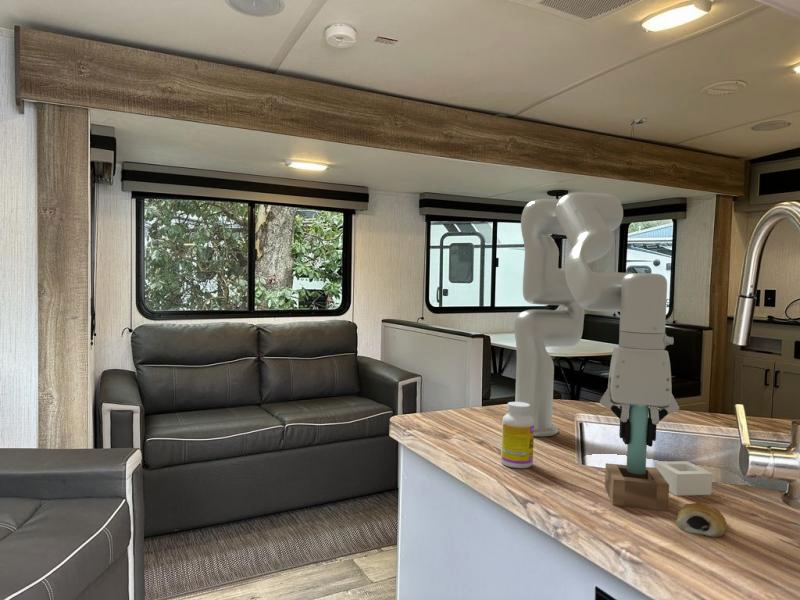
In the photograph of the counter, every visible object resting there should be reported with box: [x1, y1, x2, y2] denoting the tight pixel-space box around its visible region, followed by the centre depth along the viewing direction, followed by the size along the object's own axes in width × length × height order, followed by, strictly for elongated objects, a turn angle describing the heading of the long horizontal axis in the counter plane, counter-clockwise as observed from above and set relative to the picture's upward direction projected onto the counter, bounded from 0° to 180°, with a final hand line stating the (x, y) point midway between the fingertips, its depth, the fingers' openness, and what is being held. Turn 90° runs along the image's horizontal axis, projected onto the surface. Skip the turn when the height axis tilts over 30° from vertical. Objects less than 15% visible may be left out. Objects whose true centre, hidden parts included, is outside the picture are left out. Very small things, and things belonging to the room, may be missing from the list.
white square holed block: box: [654, 460, 713, 497], centre depth 106 cm, size 7×7×4 cm
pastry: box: [675, 502, 727, 538], centre depth 90 cm, size 9×7×4 cm
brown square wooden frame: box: [604, 463, 670, 512], centre depth 100 cm, size 9×9×4 cm
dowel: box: [626, 405, 648, 474], centre depth 100 cm, size 3×3×14 cm
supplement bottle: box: [500, 401, 535, 469], centre depth 117 cm, size 7×7×13 cm
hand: (637, 442), depth 100 cm, fingers closed on dowel, 3 cm apart
